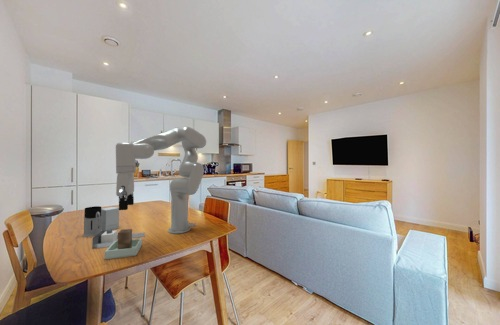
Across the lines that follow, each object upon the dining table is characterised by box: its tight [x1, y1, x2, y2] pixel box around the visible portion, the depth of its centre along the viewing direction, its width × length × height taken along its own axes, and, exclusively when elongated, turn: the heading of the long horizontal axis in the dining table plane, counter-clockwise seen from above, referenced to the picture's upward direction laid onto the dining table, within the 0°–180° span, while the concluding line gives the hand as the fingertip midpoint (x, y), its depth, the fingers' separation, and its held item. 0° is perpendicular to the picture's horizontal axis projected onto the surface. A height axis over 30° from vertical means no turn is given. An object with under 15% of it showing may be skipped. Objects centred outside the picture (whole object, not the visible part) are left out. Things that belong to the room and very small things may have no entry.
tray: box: [104, 237, 143, 260], centre depth 89 cm, size 12×12×4 cm
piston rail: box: [91, 230, 146, 249], centre depth 100 cm, size 20×11×5 cm, turn 108°
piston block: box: [101, 229, 118, 243], centre depth 99 cm, size 5×6×7 cm
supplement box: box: [101, 206, 120, 231], centre depth 120 cm, size 7×7×13 cm
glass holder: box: [82, 205, 102, 238], centre depth 109 cm, size 9×14×15 cm, turn 55°
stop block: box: [117, 228, 133, 249], centre depth 89 cm, size 4×4×9 cm
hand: (126, 207), depth 90 cm, fingers open, 9 cm apart
